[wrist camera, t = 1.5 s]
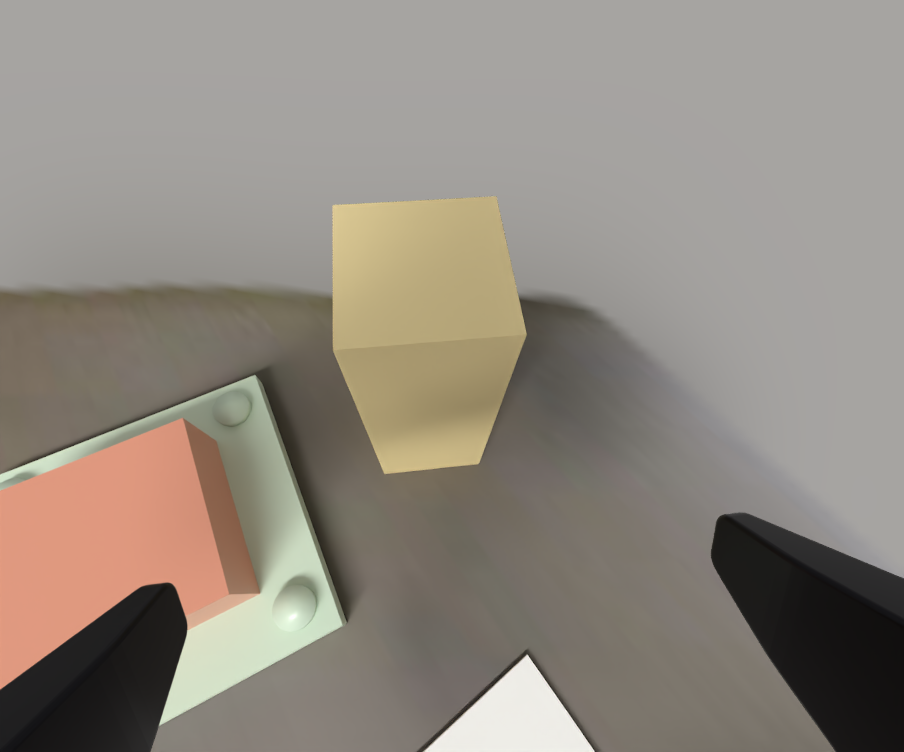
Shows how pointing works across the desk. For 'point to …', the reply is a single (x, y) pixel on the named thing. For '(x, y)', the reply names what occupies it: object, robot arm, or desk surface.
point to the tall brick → (425, 325)
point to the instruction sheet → (514, 719)
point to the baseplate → (268, 536)
